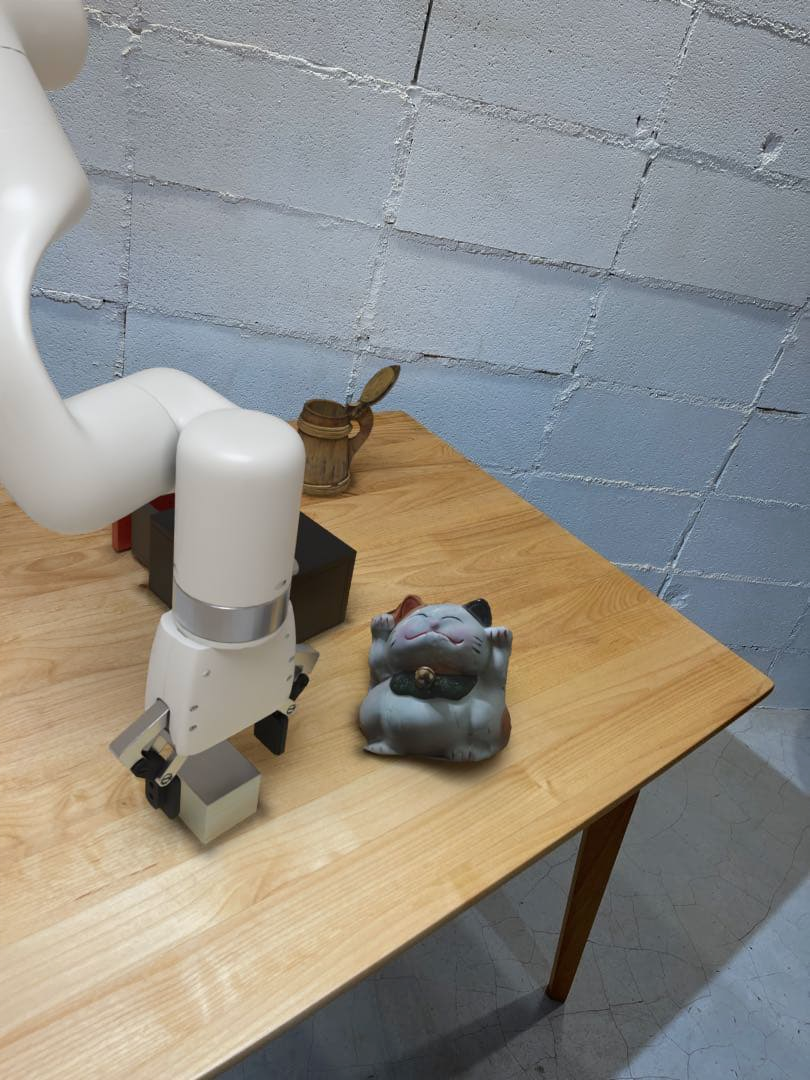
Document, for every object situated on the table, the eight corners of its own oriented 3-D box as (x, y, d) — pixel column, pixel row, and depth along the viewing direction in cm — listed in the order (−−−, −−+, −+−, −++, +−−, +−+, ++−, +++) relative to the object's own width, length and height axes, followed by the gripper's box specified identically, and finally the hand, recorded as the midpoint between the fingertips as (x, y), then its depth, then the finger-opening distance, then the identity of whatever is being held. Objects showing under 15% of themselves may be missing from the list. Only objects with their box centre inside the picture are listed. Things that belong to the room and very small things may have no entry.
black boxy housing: (148, 592, 86) (149, 514, 81) (252, 554, 96) (259, 482, 91) (239, 677, 78) (247, 596, 73) (343, 625, 88) (357, 551, 83)
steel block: (166, 807, 65) (168, 764, 62) (219, 776, 68) (222, 734, 65) (203, 849, 62) (207, 806, 60) (256, 815, 66) (261, 773, 63)
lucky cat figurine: (328, 746, 73) (340, 592, 72) (384, 716, 84) (395, 582, 83) (488, 783, 67) (504, 616, 66) (526, 745, 78) (539, 602, 77)
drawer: (84, 521, 93) (82, 456, 89) (179, 494, 102) (182, 433, 97) (188, 615, 83) (191, 547, 79) (284, 576, 92) (292, 512, 87)
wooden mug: (385, 501, 112) (409, 379, 102) (286, 497, 108) (302, 369, 99) (373, 469, 119) (394, 352, 110) (280, 464, 115) (294, 342, 106)
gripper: (295, 532, 61) (275, 698, 70) (78, 612, 50) (87, 799, 59) (364, 581, 58) (334, 750, 67) (146, 681, 46) (145, 870, 55)
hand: (218, 773), depth 63 cm, fingers open, 9 cm apart
